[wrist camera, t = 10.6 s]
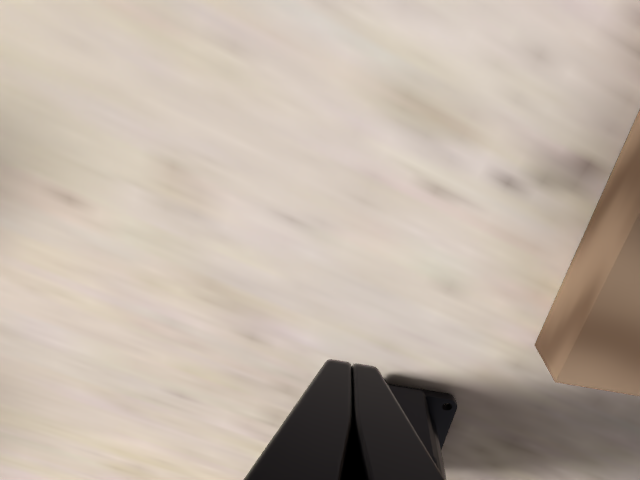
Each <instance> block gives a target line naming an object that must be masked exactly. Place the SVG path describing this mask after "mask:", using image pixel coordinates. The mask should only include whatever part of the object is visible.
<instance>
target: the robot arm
mask: <svg viewBox="0 0 640 480" xmlns="http://www.w3.org/2000/svg"><path fill="white" fill-rule="evenodd" d="M445 403H449V404H447V405H444V404H445ZM456 409H457V404H456V400H455V398H454V396H452V395H450V394H446V393H440V392H434V391H428V390H422V389H416V388H410V387H404V386H398V385H392V384H387V383H386V382H385V380H384V378H383V377H382V375H381V373H380V372H379V370H378V369H377V368H376V367H374V366H368V365H362V364H353V366H351V364H350V363H349V362H344V361H338V360H332V359H329V360H327V361H326V362H325V364H324V365H323V367H322V368H321V369H320V371H319V372H318V374H317V375H316V377H315V378H314V379H313V381H312V382H311V384H310V385H309V387H308V388H307V390H306V391H305V392H304V394H303V395H302V397H301V398H300V400H299V401H298V402H297V404H296V405H295V407H294V408H293V410H292V411H291V412H290V414H289V415H288V417H287V418H286V420H285V421H284V423H283V424H282V425H281V427H280V428H279V430H278V431H277V433H276V434H275V435H274V437H273V438H272V440H271V441H270V443H269V444H268V446H267V447H266V448H265V450H264V451H263V453H262V454H261V456H260V457H259V458H258V460H257V461H256V463H255V464H254V466H253V467H252V469H251V470H250V471H249V473H248V474H247V476H246V477H245V479H244V480H446V475H445V470H444V464H443V459H442V454H441V449H442V446H443V444H444V441H445V438H446V436H447V433H448V430H449V428H450V425H451V422H452V420H453V417H454V414H455V412H456Z"/></svg>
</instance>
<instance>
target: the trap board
mask: <svg viewBox="0 0 640 480" xmlns="http://www.w3.org/2000/svg"><path fill="white" fill-rule="evenodd" d="M535 347H536V348H537V350H538V352H539V354H540V356H541V357H542V359H543V361H544V363H545V365H546V366H547V368H548V370H549V372H550V374H551V375H552V377H553V379H554V381H555V382H557V383H563V384H569V385H575V386H581V387H587V388H593V389H599V390H605V391H611V392H617V393H623V394H629V395H635V396H640V110H639V112H638V115H637V117H636V119H635V121H634V124H633V126H632V128H631V130H630V133H629V135H628V137H627V139H626V142H625V144H624V146H623V148H622V151H621V153H620V155H619V157H618V159H617V162H616V164H615V166H614V168H613V171H612V173H611V175H610V177H609V180H608V182H607V184H606V186H605V189H604V191H603V193H602V195H601V198H600V200H599V202H598V204H597V206H596V209H595V211H594V213H593V215H592V218H591V220H590V222H589V224H588V227H587V229H586V231H585V233H584V236H583V238H582V240H581V242H580V245H579V247H578V249H577V251H576V254H575V256H574V258H573V260H572V262H571V265H570V267H569V269H568V271H567V274H566V276H565V278H564V280H563V283H562V285H561V287H560V289H559V292H558V294H557V296H556V298H555V301H554V303H553V305H552V307H551V309H550V312H549V314H548V316H547V318H546V321H545V323H544V325H543V327H542V330H541V332H540V334H539V336H538V339H537V341H536V343H535Z"/></svg>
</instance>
